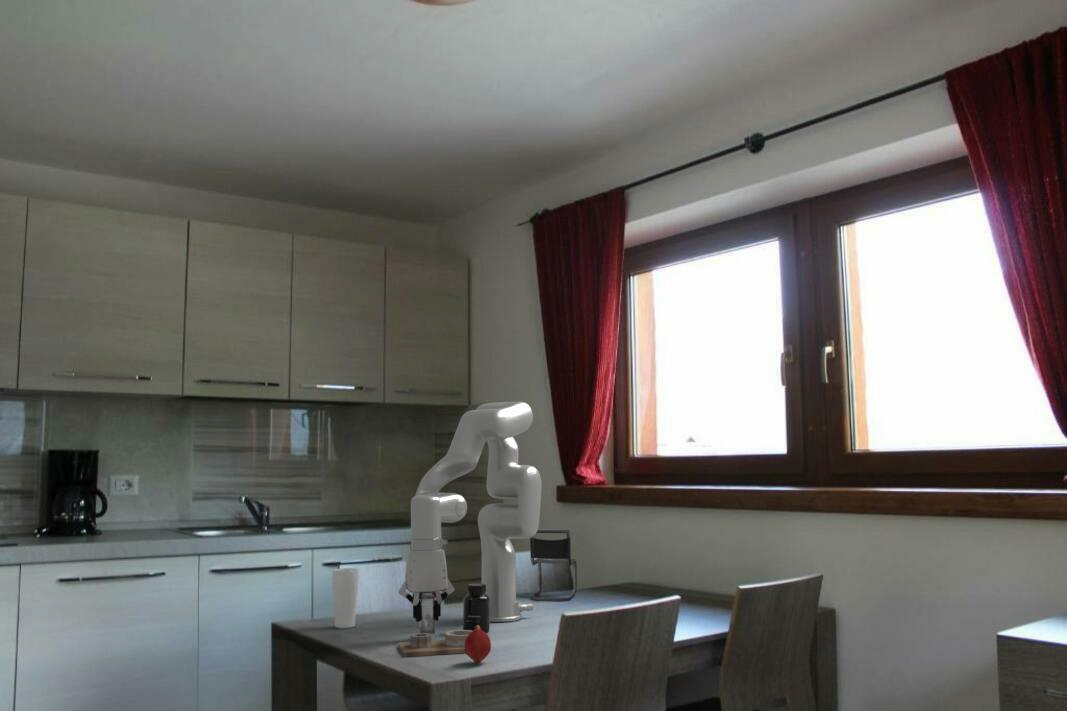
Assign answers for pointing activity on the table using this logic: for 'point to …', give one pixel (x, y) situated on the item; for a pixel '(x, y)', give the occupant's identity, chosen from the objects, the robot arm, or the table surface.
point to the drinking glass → (345, 596)
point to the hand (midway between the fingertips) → (426, 619)
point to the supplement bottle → (476, 608)
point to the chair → (552, 551)
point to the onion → (477, 645)
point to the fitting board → (434, 644)
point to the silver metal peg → (427, 612)
